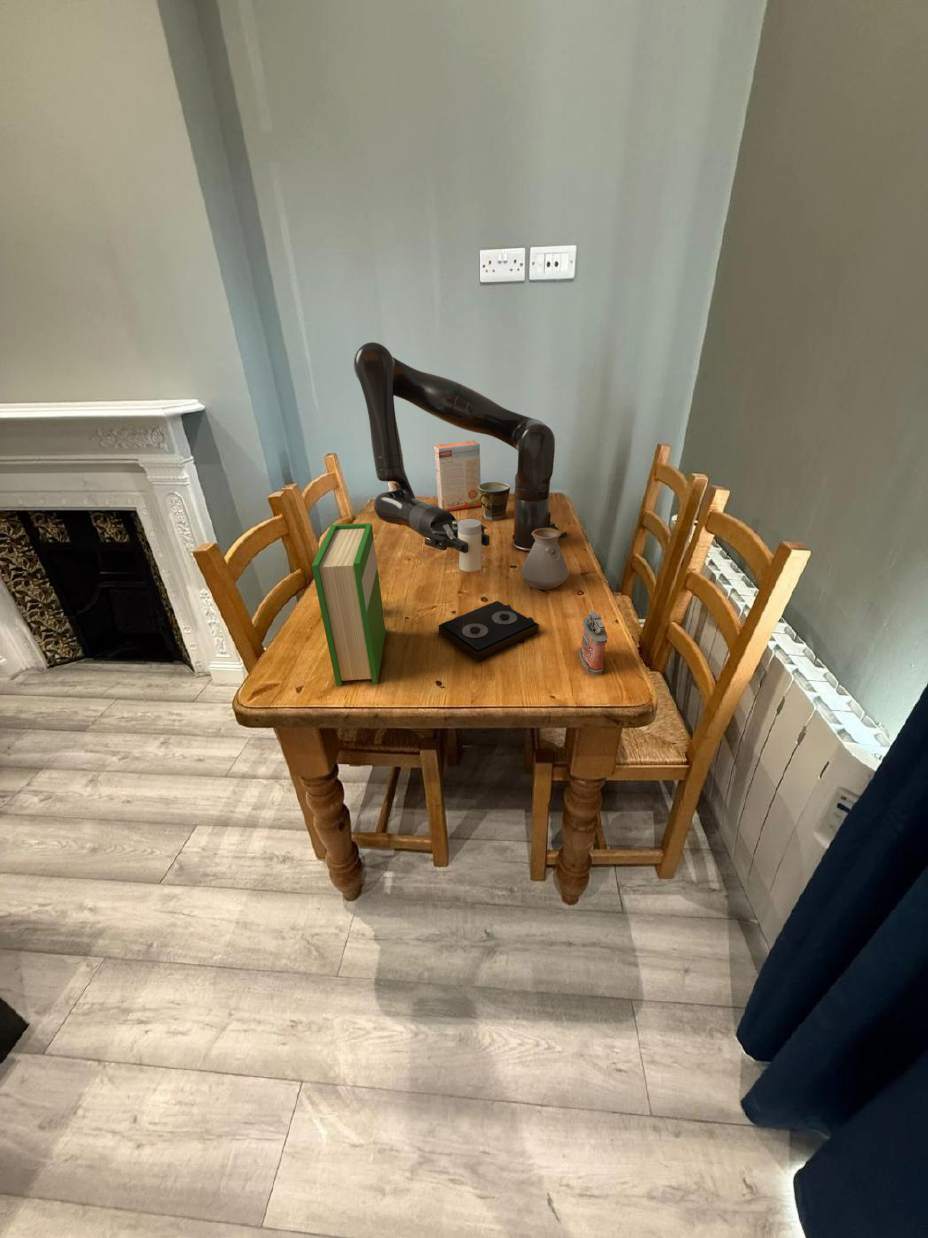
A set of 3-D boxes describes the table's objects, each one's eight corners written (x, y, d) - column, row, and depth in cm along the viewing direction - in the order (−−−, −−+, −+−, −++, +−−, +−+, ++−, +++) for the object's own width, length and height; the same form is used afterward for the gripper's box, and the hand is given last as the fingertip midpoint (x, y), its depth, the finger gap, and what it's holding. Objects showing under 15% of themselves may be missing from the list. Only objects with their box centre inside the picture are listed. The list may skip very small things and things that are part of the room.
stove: (500, 607, 113) (500, 596, 112) (541, 631, 104) (542, 619, 103) (438, 634, 105) (437, 622, 103) (477, 662, 96) (477, 650, 94)
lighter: (576, 650, 98) (580, 606, 93) (593, 649, 98) (598, 604, 93) (588, 675, 91) (594, 629, 86) (606, 674, 91) (613, 627, 86)
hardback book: (377, 683, 91) (359, 563, 79) (336, 685, 91) (311, 565, 78) (385, 631, 106) (371, 522, 94) (350, 632, 106) (331, 524, 94)
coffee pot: (519, 571, 128) (520, 515, 120) (564, 571, 127) (569, 514, 120) (523, 615, 110) (525, 552, 102) (576, 615, 109) (583, 551, 101)
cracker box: (475, 501, 177) (474, 439, 166) (481, 506, 172) (480, 443, 161) (437, 506, 173) (433, 443, 162) (442, 512, 168) (438, 447, 157)
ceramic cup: (489, 509, 169) (489, 480, 164) (515, 515, 164) (516, 484, 158) (467, 521, 160) (466, 490, 155) (493, 527, 155) (493, 495, 150)
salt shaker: (472, 559, 112) (471, 516, 107) (486, 567, 109) (486, 523, 103) (454, 566, 110) (452, 522, 104) (468, 574, 106) (467, 529, 101)
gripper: (403, 513, 110) (449, 536, 99) (456, 499, 117) (504, 519, 106) (406, 545, 114) (450, 571, 102) (457, 530, 121) (503, 552, 110)
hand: (477, 544), depth 104 cm, fingers closed on salt shaker, 5 cm apart
